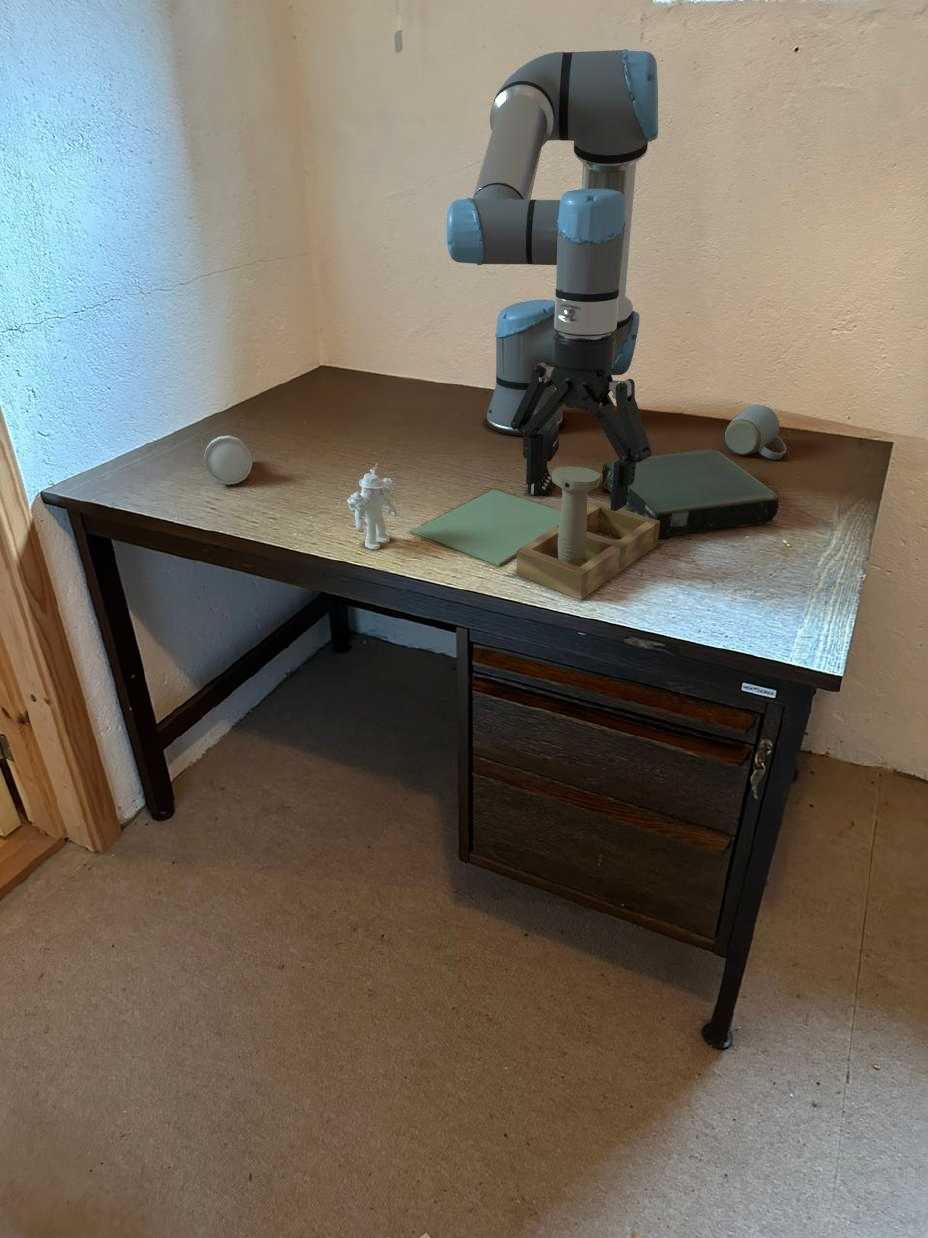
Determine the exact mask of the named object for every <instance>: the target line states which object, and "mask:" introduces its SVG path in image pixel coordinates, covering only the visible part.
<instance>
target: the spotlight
mask: <svg viewBox="0 0 928 1238" xmlns="http://www.w3.org/2000/svg"><path fill="white" fill-rule="evenodd" d="M203 463H204V468H205V471H206V472H207V474H208V475H209V477H210V478H211V479H213V480H214V481H216V482H217V483H219V484H224V485H227V486H228V485H236V484H239V483H240V482H242V481H244V480H246V478H247V477H248V475H249V474H250V473H251V471H252V467H253V459H252V453H251V450H250V449H249V447H248V445H247V444H246V443H245V442H244V441H243V440H241V439H240V438H238V437H236V436H232V435H221V436H217V437H216V438H214V439H212V440H211V441H210V442H209V443H208V445H207V446H206V447H205V450H204V455H203Z"/></svg>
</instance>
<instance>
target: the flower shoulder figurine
mask: <svg viewBox="0 0 928 1238" xmlns="http://www.w3.org/2000/svg"><path fill="white" fill-rule="evenodd" d="M378 464H379V462H378V461H377V462H376V464H375V465H374V467H373V468H370V469H369V472H370V473H369V472H368V473H367V472H366V473H365V474H364V475H363V478H360V479H359V481H358V485H359V487H360V488H361V490H360V491H361V492H360V491H355V492H354V493H353V494H350V497H348V498H347V499H346V502H347V505H348V509H349V510H350V511H351V512H353V513H354V519H355V529H356V530H357V532H358V533H360V534H361V533H364V532H365V529H366V533H367V534H366V535H365V536H366V537H365V541H364V546H365V548H368V549H370V550H378V549H380V548H381V544H387V543H389V542H390V541H391V539H390V537H389V536H388V535H386V530H387V529H386V528H387V527H386V523H385V518H384V515H383V505H385V506H386V510H388V514H389V515H392V516H393V517H396V516H397V514H398V513H397V512H398V511H397V509H396V507H395V506H394V504H393V502H392V501H391V500H390V498H389V497H388V496H387V494H388V495H389V496H390V497H394V495H395V494H396V492H397V487H396V486H394V485H393V484H394V482H393V481H392V479H391V478H389V477H383V479H381V478H379V476H378V475H377V470H378V469H379V468H378V467H379V465H378ZM390 492H392V493H390ZM386 493H387V494H386ZM352 507H355V508H352ZM363 517H364V518H365V519H363ZM364 525H365V529H364ZM380 543H381V544H380Z"/></svg>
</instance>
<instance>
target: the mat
mask: <svg viewBox="0 0 928 1238" xmlns="http://www.w3.org/2000/svg"><path fill="white" fill-rule="evenodd" d="M560 515H561V510H559V509H555V508H552V507H550V506H546V505H543V504H540V503H537V502H534V501H531V500H528V499H525V498H522V497H520V496H516V495H514V494H509V493H506V492H504V491H500V490H497V489H495V488H493V489H491V490H489V491H487V492H486V493H484V494H482V495H480V496H478V497H475V498H474V499H472V500H470V501H467V502H466V503H464V504H462V505H460V506H458V507H456V508H454V509H452V510H450V511H449V512H447V513H444V514H443V515H441V516H439V517H437V518H435V519H433V520H431V521H429V522H427V523H425V524H423V525H421V526H419V527H417V528H416V529H413V530H412V533H413V534H415V535H418V536H421V537H422V538H426V539H428V540H431V541H433V542H436V543H439V544H442V545H444V546H446V547H449V548H452V549H454V550H456V551H459V552H462V553H464V554H466V555H470V556H472V557H475V558H477V559H480V560H483V561H485V562H487V563H490V564H492V565H495V566H497V567H500V566H501V565H504V563H506V562H508V561H509V560H511V559H513V558H515V557H517V550H518V549H520V548H521V547H523V546H525V545H526V544H528V543H530V542H531V541H533V540H535V539H536V538H538V537H540V536H541V535H543V534H545V533H546V532H548V531H549V530H551V529H553V528H554V527H556V526H558V525H559V523H560Z"/></svg>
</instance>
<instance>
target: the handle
mask: <svg viewBox="0 0 928 1238" xmlns="http://www.w3.org/2000/svg"><path fill="white" fill-rule="evenodd" d="M551 478H552V481H553V484H555V485H556V486H557V487H559V488H560V489H561V493H562V497H561V508H560V511H561V515H560V523H559V531H558V557H557V559H559V560H562V561H564V562H567V563H570V564H573V565H575V566H578V567H581V566H582V565H584V556H585V550H586V542H587V541H586V540H587V508H588V494H589V492H591V491H593V490H595V489H596V488H598V487H599V485H600V484H601V483H600V482H601V473H599V472H597V471H595V470H593V469H591V468H588V467H584V466H580V465H579V466H578V465H560V466H558V467H557V466H556V467H555V468H554V469H553V470H552V472H551Z"/></svg>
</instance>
